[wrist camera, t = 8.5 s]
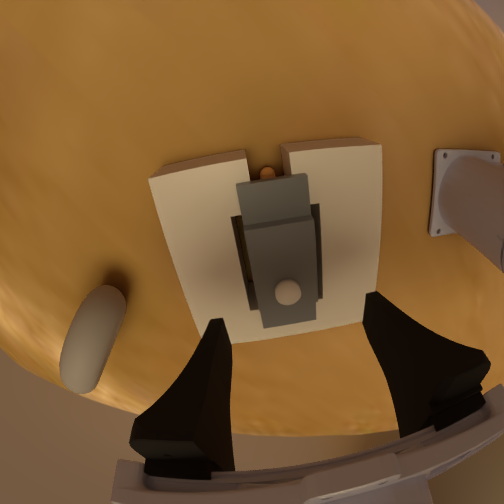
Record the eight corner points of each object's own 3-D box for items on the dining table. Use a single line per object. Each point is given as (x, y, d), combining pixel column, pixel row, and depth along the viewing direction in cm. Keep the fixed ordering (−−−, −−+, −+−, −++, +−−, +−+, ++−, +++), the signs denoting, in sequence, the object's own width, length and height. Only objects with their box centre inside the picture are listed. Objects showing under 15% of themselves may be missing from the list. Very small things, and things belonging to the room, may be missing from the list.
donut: (107, 255, 22) (53, 339, 13) (142, 273, 23) (102, 365, 14) (88, 325, 26) (54, 399, 17) (116, 339, 27) (88, 417, 18)
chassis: (358, 137, 18) (381, 144, 15) (357, 293, 25) (371, 319, 22) (163, 165, 18) (148, 178, 15) (207, 317, 25) (204, 346, 22)
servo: (293, 159, 19) (313, 179, 14) (305, 286, 24) (320, 332, 19) (236, 168, 19) (235, 191, 14) (259, 294, 24) (264, 341, 19)
